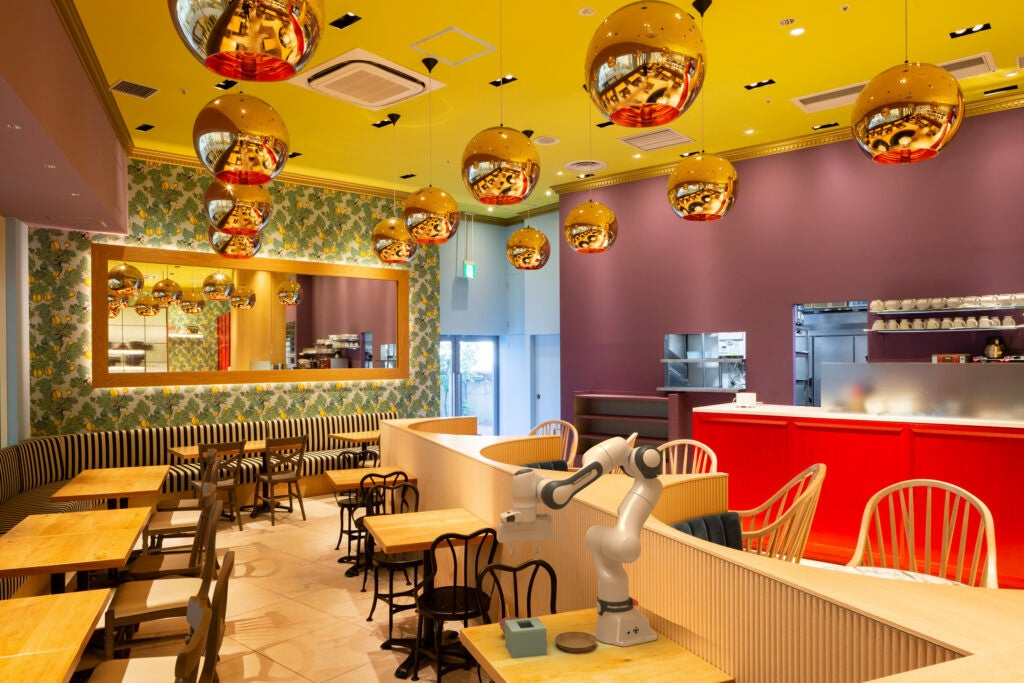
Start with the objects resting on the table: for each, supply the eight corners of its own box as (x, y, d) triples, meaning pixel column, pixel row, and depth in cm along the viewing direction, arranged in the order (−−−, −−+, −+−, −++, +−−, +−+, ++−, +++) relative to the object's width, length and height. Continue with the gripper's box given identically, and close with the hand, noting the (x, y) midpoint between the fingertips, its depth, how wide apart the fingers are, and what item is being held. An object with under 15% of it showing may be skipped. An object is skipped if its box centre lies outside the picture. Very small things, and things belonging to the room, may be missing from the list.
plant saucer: (591, 657, 226) (591, 649, 226) (549, 652, 231) (549, 644, 231) (601, 641, 240) (601, 634, 240) (561, 636, 245) (561, 629, 245)
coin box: (538, 642, 239) (537, 617, 240) (546, 654, 229) (546, 628, 229) (505, 645, 237) (505, 620, 237) (512, 658, 226) (512, 631, 226)
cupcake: (495, 639, 243) (495, 605, 244) (506, 631, 250) (506, 598, 251) (516, 643, 239) (516, 608, 240) (527, 635, 246) (526, 601, 247)
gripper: (549, 511, 248) (550, 549, 247) (495, 514, 243) (495, 553, 242) (554, 514, 242) (555, 553, 241) (499, 518, 237) (499, 557, 236)
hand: (524, 553), depth 242 cm, fingers open, 8 cm apart
